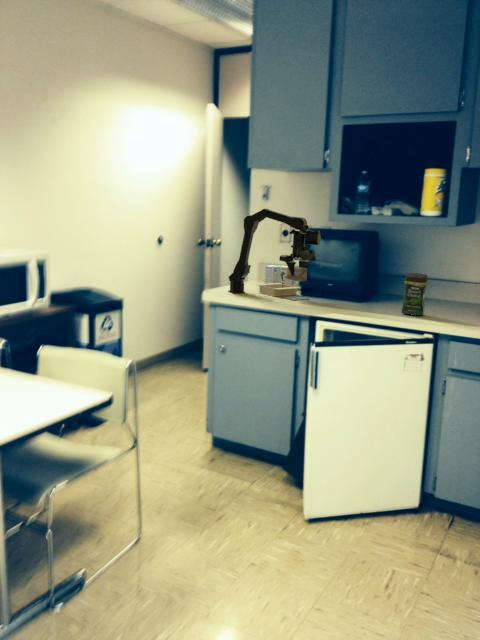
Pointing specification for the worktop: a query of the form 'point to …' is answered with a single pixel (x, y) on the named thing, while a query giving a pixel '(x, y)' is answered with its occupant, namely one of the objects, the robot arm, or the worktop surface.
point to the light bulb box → (272, 274)
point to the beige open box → (277, 289)
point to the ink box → (284, 277)
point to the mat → (295, 298)
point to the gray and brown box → (297, 274)
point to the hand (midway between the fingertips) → (296, 275)
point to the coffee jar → (414, 294)
